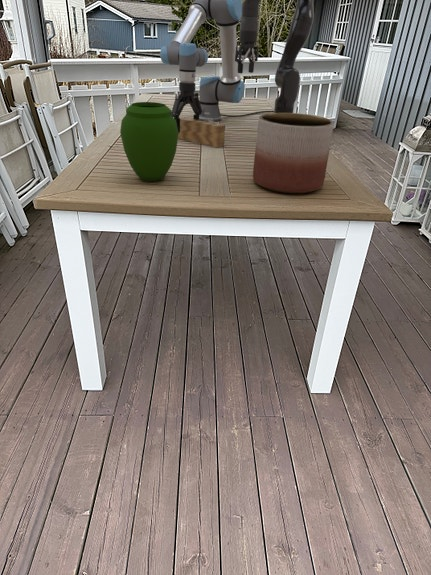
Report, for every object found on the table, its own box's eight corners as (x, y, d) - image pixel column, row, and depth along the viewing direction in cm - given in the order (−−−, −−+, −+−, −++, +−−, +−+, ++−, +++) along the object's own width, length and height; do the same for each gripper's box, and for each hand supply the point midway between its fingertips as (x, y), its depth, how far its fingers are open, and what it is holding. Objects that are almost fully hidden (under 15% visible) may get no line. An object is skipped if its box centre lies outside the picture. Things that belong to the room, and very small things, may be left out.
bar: (178, 138, 202) (178, 118, 197) (184, 137, 205) (184, 117, 200) (217, 147, 190) (218, 126, 185) (223, 146, 193) (225, 125, 188)
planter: (334, 195, 139) (348, 127, 128) (262, 196, 135) (270, 126, 123) (308, 173, 160) (318, 112, 149) (245, 173, 156) (250, 111, 145)
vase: (131, 189, 135) (125, 110, 122) (118, 172, 150) (112, 100, 137) (186, 184, 142) (187, 109, 129) (169, 168, 157) (167, 99, 144)
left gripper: (174, 84, 178) (175, 135, 189) (210, 81, 195) (208, 128, 206) (162, 82, 182) (163, 132, 193) (198, 80, 199) (197, 126, 210)
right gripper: (246, 29, 166) (243, 74, 174) (265, 30, 176) (261, 73, 184) (231, 28, 170) (229, 72, 178) (250, 30, 179) (247, 71, 188)
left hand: (186, 130), depth 199 cm, fingers open, 13 cm apart
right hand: (245, 72), depth 181 cm, fingers open, 8 cm apart
